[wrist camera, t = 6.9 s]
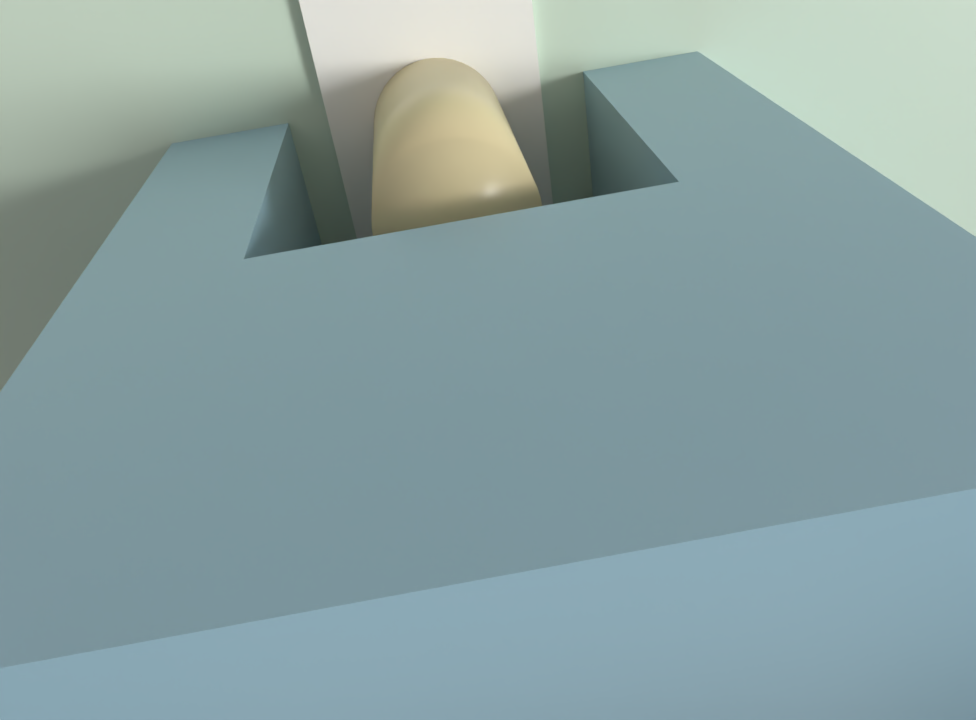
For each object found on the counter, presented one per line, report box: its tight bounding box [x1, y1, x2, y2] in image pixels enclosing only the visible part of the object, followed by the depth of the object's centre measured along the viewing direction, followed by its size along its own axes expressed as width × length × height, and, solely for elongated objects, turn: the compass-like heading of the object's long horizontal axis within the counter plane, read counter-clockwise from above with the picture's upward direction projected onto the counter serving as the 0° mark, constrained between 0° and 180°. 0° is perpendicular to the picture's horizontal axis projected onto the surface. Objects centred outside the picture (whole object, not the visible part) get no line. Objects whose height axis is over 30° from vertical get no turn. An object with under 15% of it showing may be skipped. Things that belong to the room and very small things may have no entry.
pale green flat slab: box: [0, 0, 976, 391], centre depth 9 cm, size 20×12×4 cm, turn 8°
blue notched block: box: [0, 51, 976, 720], centre depth 8 cm, size 9×5×6 cm, turn 8°
